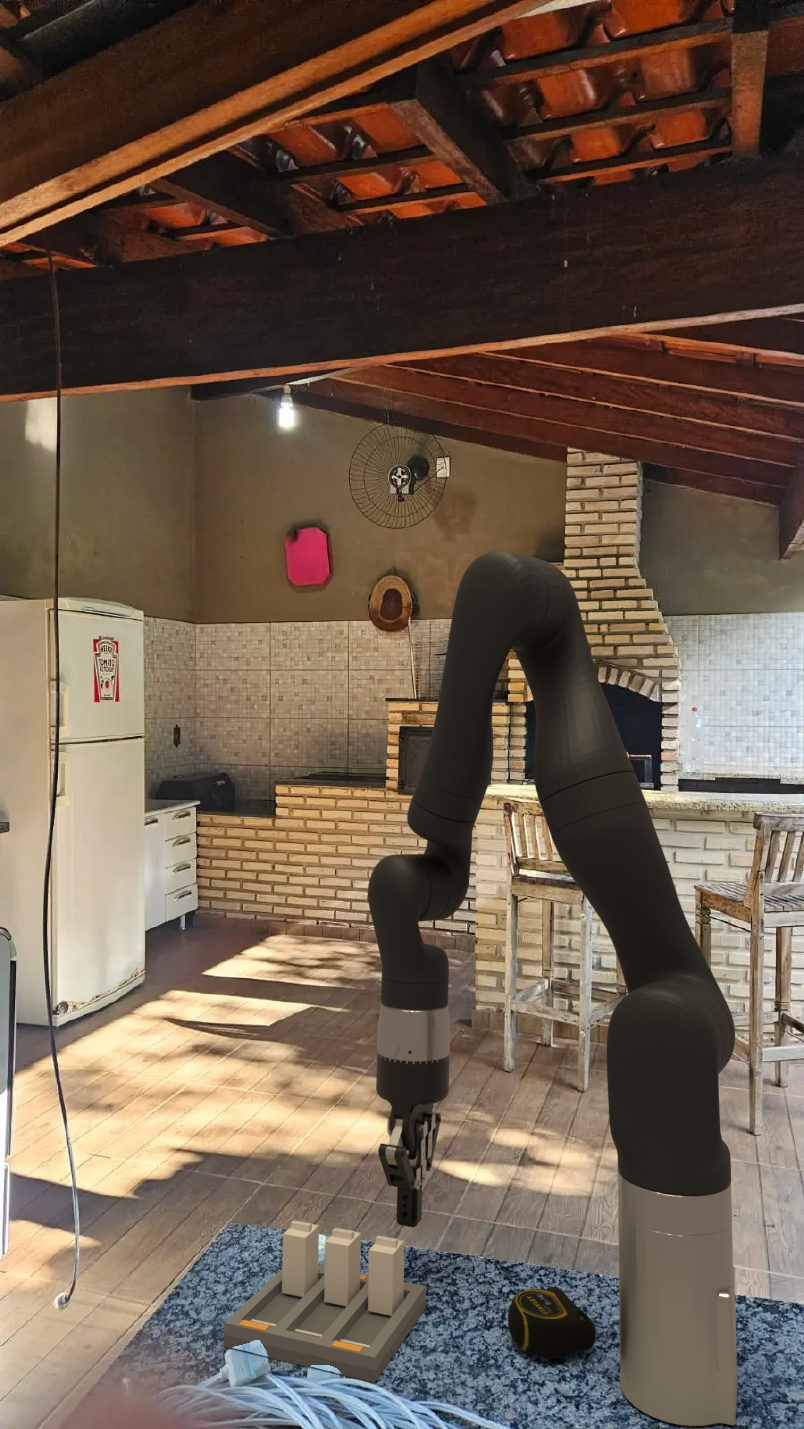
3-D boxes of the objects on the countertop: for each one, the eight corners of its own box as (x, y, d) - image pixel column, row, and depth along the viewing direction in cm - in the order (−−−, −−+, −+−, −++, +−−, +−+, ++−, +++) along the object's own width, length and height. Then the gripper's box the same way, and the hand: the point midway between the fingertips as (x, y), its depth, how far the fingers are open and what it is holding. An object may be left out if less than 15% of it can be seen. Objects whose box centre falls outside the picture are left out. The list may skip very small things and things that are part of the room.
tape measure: (599, 1361, 83) (599, 1316, 84) (528, 1374, 81) (528, 1328, 82) (562, 1321, 90) (562, 1279, 90) (496, 1332, 88) (496, 1289, 88)
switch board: (425, 1307, 92) (426, 1284, 92) (374, 1382, 80) (374, 1355, 80) (291, 1280, 97) (291, 1258, 97) (223, 1346, 85) (224, 1321, 85)
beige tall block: (403, 1300, 91) (404, 1234, 91) (392, 1315, 88) (392, 1247, 88) (380, 1295, 91) (380, 1229, 92) (368, 1310, 89) (368, 1242, 89)
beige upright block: (360, 1291, 92) (361, 1226, 93) (347, 1306, 89) (348, 1239, 90) (337, 1286, 93) (338, 1222, 94) (324, 1301, 90) (325, 1234, 91)
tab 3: (317, 1282, 94) (319, 1219, 94) (304, 1297, 91) (305, 1231, 92) (296, 1278, 95) (297, 1215, 95) (281, 1292, 92) (283, 1227, 92)
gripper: (427, 1068, 91) (422, 1258, 90) (466, 1038, 104) (463, 1204, 102) (355, 1059, 94) (349, 1244, 92) (401, 1030, 106) (397, 1192, 105)
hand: (409, 1222), depth 97 cm, fingers closed
